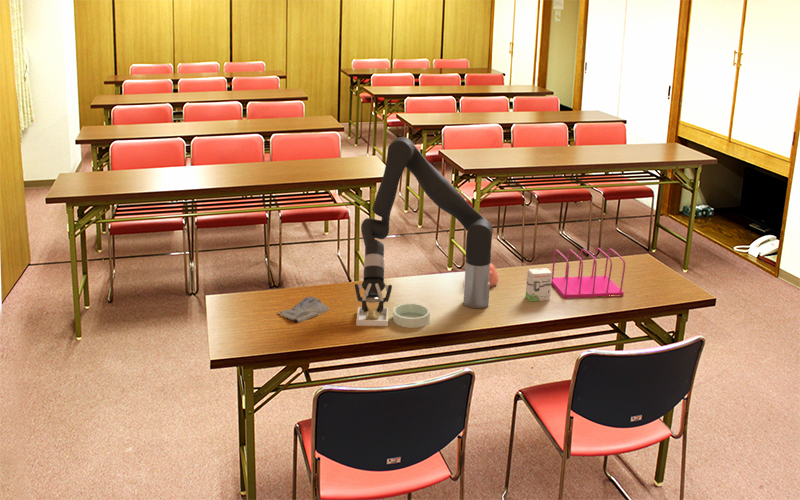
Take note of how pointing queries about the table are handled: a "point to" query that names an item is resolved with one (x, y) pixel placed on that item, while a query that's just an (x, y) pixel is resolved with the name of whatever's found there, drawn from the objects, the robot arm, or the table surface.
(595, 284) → the file sorter
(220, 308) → the table surface
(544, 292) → the ink box
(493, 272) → the teapot
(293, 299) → the table surface
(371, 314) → the glass jar with lid
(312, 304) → the fossil rock
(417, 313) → the bowl
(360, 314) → the parts tray
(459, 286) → the table surface
